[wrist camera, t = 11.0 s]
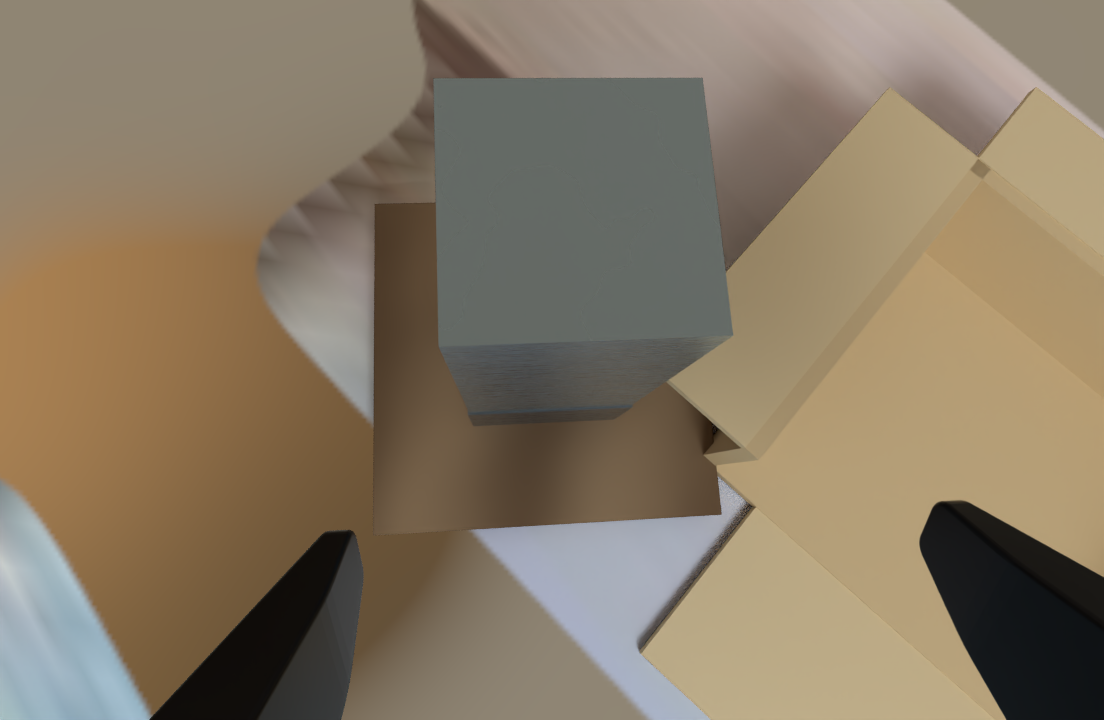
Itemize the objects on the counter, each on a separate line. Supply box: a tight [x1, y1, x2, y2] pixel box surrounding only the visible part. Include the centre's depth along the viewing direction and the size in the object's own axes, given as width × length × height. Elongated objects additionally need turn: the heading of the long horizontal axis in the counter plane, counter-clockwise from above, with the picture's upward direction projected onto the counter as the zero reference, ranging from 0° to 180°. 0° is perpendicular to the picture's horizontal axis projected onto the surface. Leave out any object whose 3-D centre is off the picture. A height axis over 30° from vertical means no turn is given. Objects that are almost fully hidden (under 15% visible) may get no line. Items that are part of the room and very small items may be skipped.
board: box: [373, 203, 721, 535], centre depth 21 cm, size 11×11×1 cm
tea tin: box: [433, 78, 733, 426], centre depth 15 cm, size 5×5×11 cm
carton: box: [639, 87, 1104, 720], centre depth 19 cm, size 22×23×4 cm
